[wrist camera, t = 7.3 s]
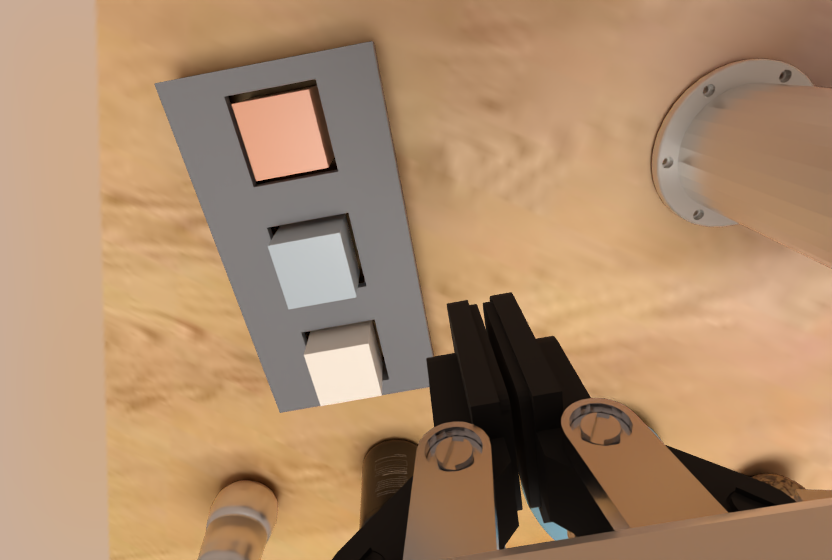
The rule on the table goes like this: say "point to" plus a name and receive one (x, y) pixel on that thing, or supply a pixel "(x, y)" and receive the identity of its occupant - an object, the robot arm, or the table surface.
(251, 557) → the plastic bottle
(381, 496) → the supplement bottle
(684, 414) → the table surface
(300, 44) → the table surface
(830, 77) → the table surface
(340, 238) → the light gray button
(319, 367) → the cream button
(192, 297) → the table surface
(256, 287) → the button panel
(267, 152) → the terracotta button
